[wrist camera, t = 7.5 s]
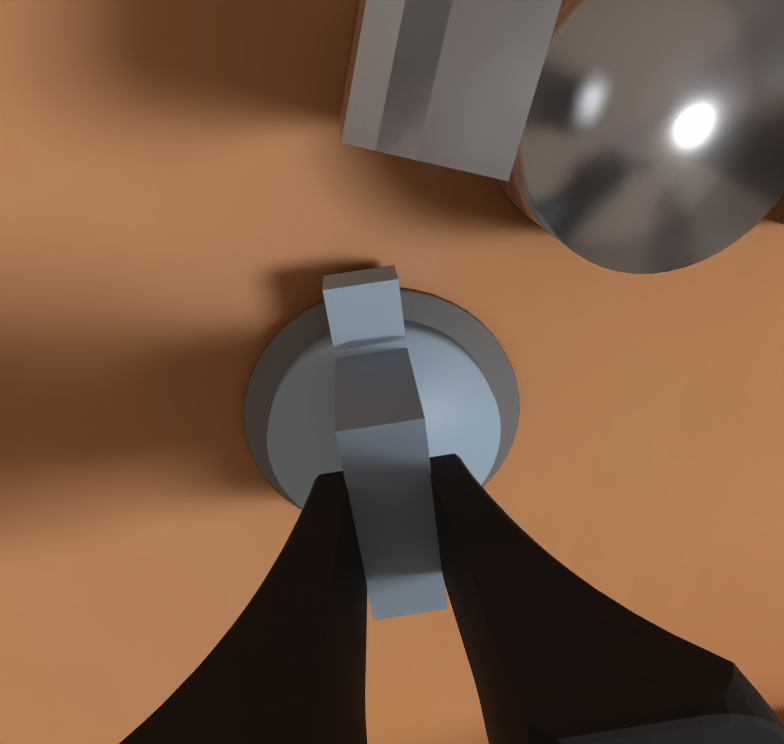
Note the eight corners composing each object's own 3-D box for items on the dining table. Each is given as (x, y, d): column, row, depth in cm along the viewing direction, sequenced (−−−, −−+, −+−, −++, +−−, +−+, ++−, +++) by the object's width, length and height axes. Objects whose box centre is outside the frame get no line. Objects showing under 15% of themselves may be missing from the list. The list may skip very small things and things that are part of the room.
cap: (497, 524, 17) (540, 643, 13) (304, 554, 17) (295, 683, 13) (482, 252, 13) (534, 317, 10) (234, 289, 13) (197, 368, 10)
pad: (553, 316, 15) (557, 320, 14) (473, 534, 18) (476, 541, 17) (264, 261, 13) (263, 265, 13) (231, 505, 16) (229, 512, 16)
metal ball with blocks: (883, 49, 12) (1187, 37, 8) (766, 276, 15) (955, 367, 10) (377, -106, 11) (407, -233, 6) (328, 181, 13) (324, 241, 8)
